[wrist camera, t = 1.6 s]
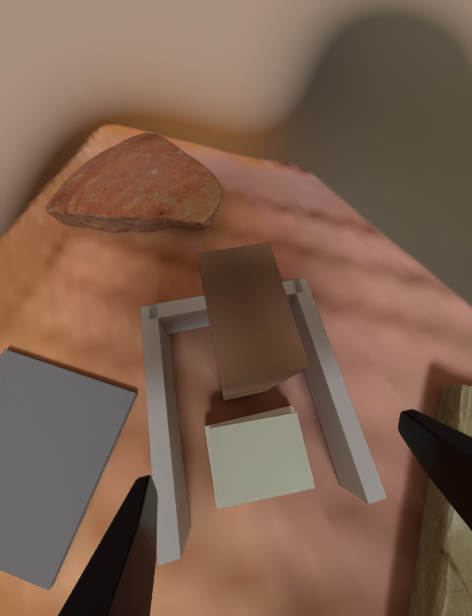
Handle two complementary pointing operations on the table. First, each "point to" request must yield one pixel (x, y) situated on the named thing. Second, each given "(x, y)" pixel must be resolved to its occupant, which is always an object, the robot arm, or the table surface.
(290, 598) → the table surface
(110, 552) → the robot arm
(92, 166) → the ceramic shard
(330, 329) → the table surface
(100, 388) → the mat
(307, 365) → the brown rectangular block
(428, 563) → the decorative tile
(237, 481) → the offcut
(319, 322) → the rack
